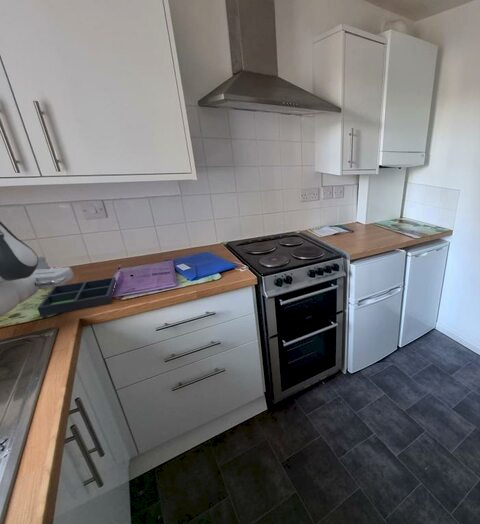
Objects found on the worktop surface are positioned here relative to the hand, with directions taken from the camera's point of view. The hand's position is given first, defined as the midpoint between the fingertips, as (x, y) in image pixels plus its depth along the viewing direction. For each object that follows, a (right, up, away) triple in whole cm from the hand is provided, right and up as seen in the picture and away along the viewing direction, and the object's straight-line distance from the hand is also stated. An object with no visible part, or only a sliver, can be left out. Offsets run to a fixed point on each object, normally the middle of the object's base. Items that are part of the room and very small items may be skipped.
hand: (44, 269), depth 100 cm
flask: (0, -6, +1) cm, 6 cm away
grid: (-1, -12, +16) cm, 20 cm away
